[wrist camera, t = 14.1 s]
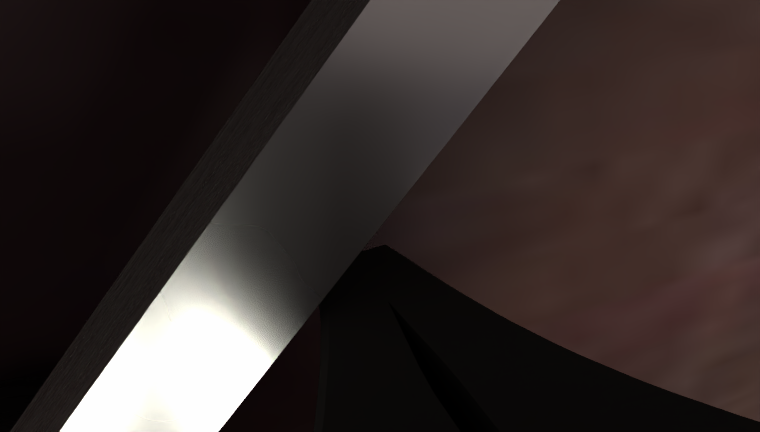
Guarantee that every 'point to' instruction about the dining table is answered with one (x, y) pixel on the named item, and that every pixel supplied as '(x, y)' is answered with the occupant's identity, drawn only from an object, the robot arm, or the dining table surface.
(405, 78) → the crank lever
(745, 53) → the dining table surface
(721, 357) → the dining table surface
